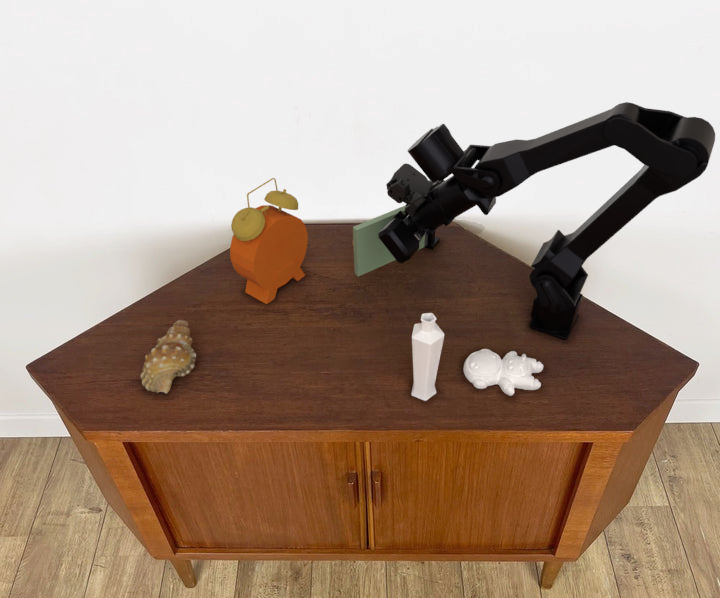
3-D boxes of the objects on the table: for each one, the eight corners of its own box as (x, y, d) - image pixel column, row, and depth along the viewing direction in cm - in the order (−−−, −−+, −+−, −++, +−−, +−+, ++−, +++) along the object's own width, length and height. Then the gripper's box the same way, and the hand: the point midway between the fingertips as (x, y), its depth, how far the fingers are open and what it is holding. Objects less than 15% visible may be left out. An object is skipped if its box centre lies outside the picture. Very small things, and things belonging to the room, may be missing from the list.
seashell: (149, 373, 109) (152, 314, 106) (199, 378, 110) (203, 320, 107) (134, 393, 101) (136, 330, 98) (189, 399, 101) (192, 336, 98)
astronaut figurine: (536, 403, 99) (539, 390, 97) (457, 384, 102) (459, 370, 100) (545, 363, 105) (549, 349, 102) (470, 346, 108) (472, 332, 105)
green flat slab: (418, 237, 127) (420, 191, 120) (428, 245, 125) (431, 199, 118) (348, 268, 121) (346, 221, 114) (358, 276, 119) (356, 230, 112)
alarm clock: (287, 258, 125) (275, 162, 110) (312, 271, 122) (302, 173, 108) (236, 295, 118) (216, 197, 103) (261, 309, 115) (243, 210, 101)
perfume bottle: (437, 404, 99) (443, 331, 88) (407, 400, 100) (411, 327, 89) (440, 381, 102) (447, 308, 92) (412, 378, 103) (416, 305, 92)
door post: (425, 237, 129) (427, 196, 122) (439, 241, 127) (442, 200, 121) (418, 245, 127) (420, 204, 120) (432, 249, 126) (435, 209, 119)
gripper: (445, 131, 108) (386, 175, 120) (389, 186, 97) (330, 228, 109) (485, 186, 111) (423, 224, 123) (435, 246, 100) (372, 280, 112)
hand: (388, 237), depth 117 cm, fingers closed
